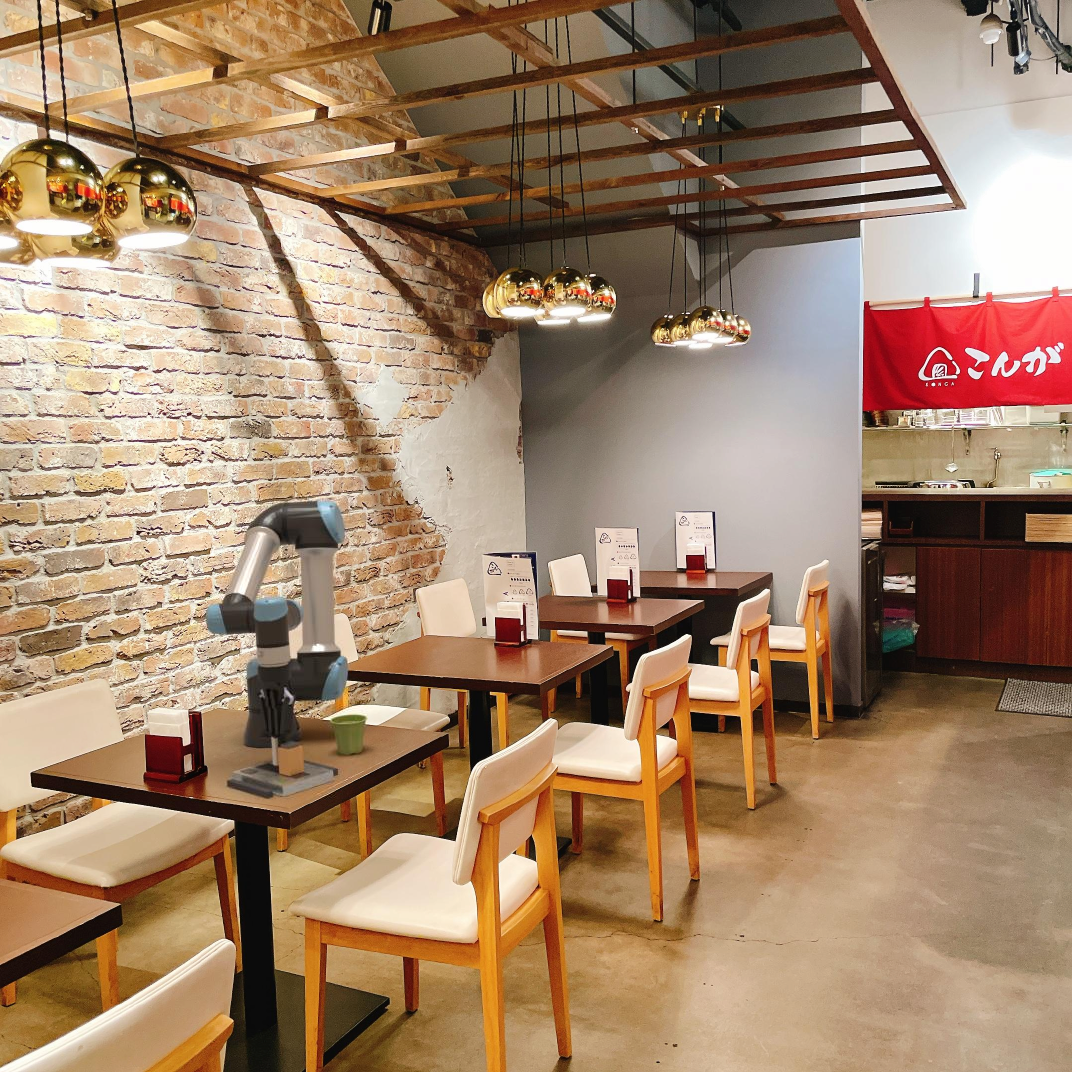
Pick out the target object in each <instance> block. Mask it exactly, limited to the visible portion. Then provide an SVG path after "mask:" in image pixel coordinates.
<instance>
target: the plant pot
mask: <svg viewBox="0 0 1072 1072" xmlns="http://www.w3.org/2000/svg"><path fill="white" fill-rule="evenodd" d="M367 720H368V716H366V715H364V714H357V713H355V714H352V713H351V714H342V715H338V716H335V717H332V718H330V719H329V722H330V724H331V726H332V728H333V732H334V733H333V734H334V737H335V743H336V747H337V753H339V755H342V756H344V755H345V756H346V755H347V756H349V755H352V754H359V753H362V751H363V747H364V746H363V744H364V733H365V727H366V726H365V725H366V721H367Z"/></svg>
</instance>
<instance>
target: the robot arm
mask: <svg viewBox="0 0 1072 1072" xmlns="http://www.w3.org/2000/svg"><path fill="white" fill-rule="evenodd" d="M345 534H346V532H345V523H344V518H343V515H342V512H341V509H340V508H339V505H338V504H337V503H336V502H334V501H331V500H313V501H312V500H311V501H308V500H307V501H293V502H286V501H284V502H279V503H276V504H274V505H271V506H269V507H267V508H265V509H264V510H263V511H261V512H260V513H259V514H258V515H257V516H256V517H255V518H254V519H253V520H252V522H251V523H250V524H249V526H248V527H247V529H246V531H245V534H244V537H243V541H244V547H243V549H242V552H241V554H240V557H239V560H238V562H237V564H236V567H235V569H234V572H233V573H232V574H233V575H232V576H231V579H230V582H229V584H228V587H227V589H226V591H225V593H224V597H223V599H222V601H221V603H220V602H217V603H211V604H210V605H209V606H208V607H207V609H206V611H205V613H206V614H205V624H206V627H207V630H208V631H209V632H210V634H213V635H226V636H228V635H240V634H241V635H242V634H243V635H244V634H245V635H247V634H254V635H255V646H256V647H255V648H256V657H255V658H253V659H251V660H250V661H248V662H247V664H246V677H245V679H246V686H247V701H248V702H247V703H248V717H247V721H246V724H245V729H244V732H243V744H244V745H246V746H248V747H251V748H252V747H253V748H271V752H272V753H271V754H272V755H271V756H272V760H273V765H276V766H277V765H279V759H278V748H279V747H281V744H283V743H287V742H290V741H293V742H297V741H299V740H300V739H302V729H301V726H300V724H299V721H298V719H297V716H296V713H295V711H294V710H295V709H294V708H295V704H296V702H317V701H318V702H319V701H320V702H321V701H322V702H325V701H326V702H327V701H334V700H338V699H340V698H341V697H342V696H343V694H344V692H345V689H346V685H347V682H348V673H349V664H348V658H347V657H346V656H344V655H342V651H341V648H340V647H339V646H338V645H337V644H336V640H335V639H336V638H335V635H336V634H335V633H336V632H335V599H334V598H335V593H334V592H335V591H334V555H335V554H336V553H337V552H338V551H339V544H342V543H344V541H345ZM286 545H288V546H290V545H291V546H292V545H293V546H294V552H296V553H297V555H298V556H299V557H300V577H301V579H300V580H301V582H300V583H301V584H300V585H301V587H300V588H301V604H300V603H299V602H298V601H296V600H294V599H289V598H288V599H286V598H285V597H284V596H267V597H261V598H257V597H258V595H259V593H260V590H261V587H262V585H263V583H264V580H265V576H266V574H267V571H268V569H269V565H270V563H271V560H272V558H273V555H274V554H276V553H277V552H278V551H279V549H280V547H282V546H286ZM300 624H301V625H302V627H301V629H302V630H301V631H302V644H301V647H299V649H298V650H297V651H296V657H294V658H293V657H291V646H290V635H289V634H290V633H289V632H291V631H293V630H295V629H297V628H298V627H299V625H300Z"/></svg>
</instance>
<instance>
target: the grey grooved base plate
mask: <svg viewBox="0 0 1072 1072" xmlns="http://www.w3.org/2000/svg"><path fill="white" fill-rule="evenodd" d="M303 760H304V763H306V764H310V765H314V766H318V767H322V768H326V769H330V770H333V777H334V776H337V775H339V769H338V767H334V766H329V765H325V764H321V763H319V762H318V763H317V762H314V761H313V762H312V761H309V760H305V759H303ZM226 787H229V788H232V789H235V790H238V791H241V792H245V793H248V794H251V795H254V796H257V797H262V798H264V799H270V798H273V797H274V794H273V791H272V790H269V789H265V788H262V787H258V786H255V785H251V784H248V783H244V782H241V781H238V780H234V779H232V778H230V779H227V780H226Z"/></svg>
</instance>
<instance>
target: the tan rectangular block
mask: <svg viewBox="0 0 1072 1072" xmlns="http://www.w3.org/2000/svg"><path fill="white" fill-rule="evenodd" d="M303 748H304V746H303V745H300V742H297V741H295V742H293V741H290V742H287V743H283V744H281V747H279V748H278V759H279V773H280V774H284V775H288V776H292V775H295V774H298V773H301V772H304V760H305V759H304V749H303Z"/></svg>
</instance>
